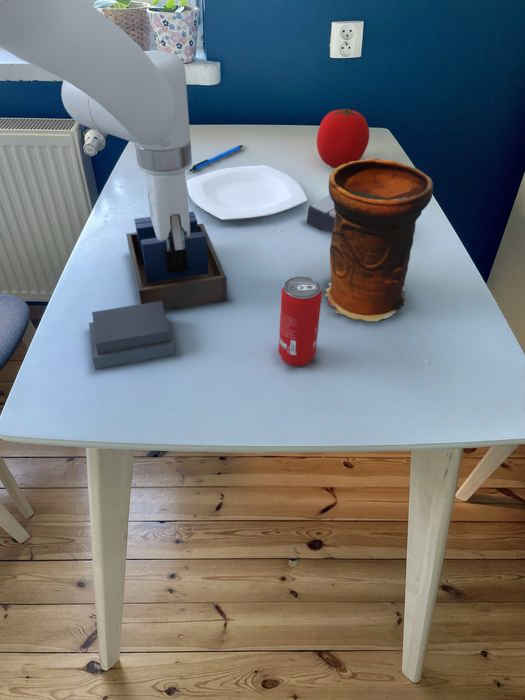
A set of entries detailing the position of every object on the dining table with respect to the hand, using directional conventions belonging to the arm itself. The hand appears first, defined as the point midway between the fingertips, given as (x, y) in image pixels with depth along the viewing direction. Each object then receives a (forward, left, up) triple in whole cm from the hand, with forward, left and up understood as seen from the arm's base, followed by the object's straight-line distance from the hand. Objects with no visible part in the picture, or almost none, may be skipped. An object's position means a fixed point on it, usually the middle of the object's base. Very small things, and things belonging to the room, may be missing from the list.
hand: (176, 265), depth 87 cm
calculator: (+36, +10, -4) cm, 38 cm away
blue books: (0, +8, -3) cm, 9 cm away
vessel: (+28, -11, -4) cm, 30 cm away
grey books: (-9, -13, -4) cm, 16 cm away
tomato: (+45, +38, -4) cm, 59 cm away
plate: (+19, +27, -4) cm, 33 cm away
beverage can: (+13, -22, -4) cm, 26 cm away
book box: (0, +2, -4) cm, 4 cm away
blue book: (0, 0, -2) cm, 2 cm away
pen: (+18, +48, -4) cm, 51 cm away
